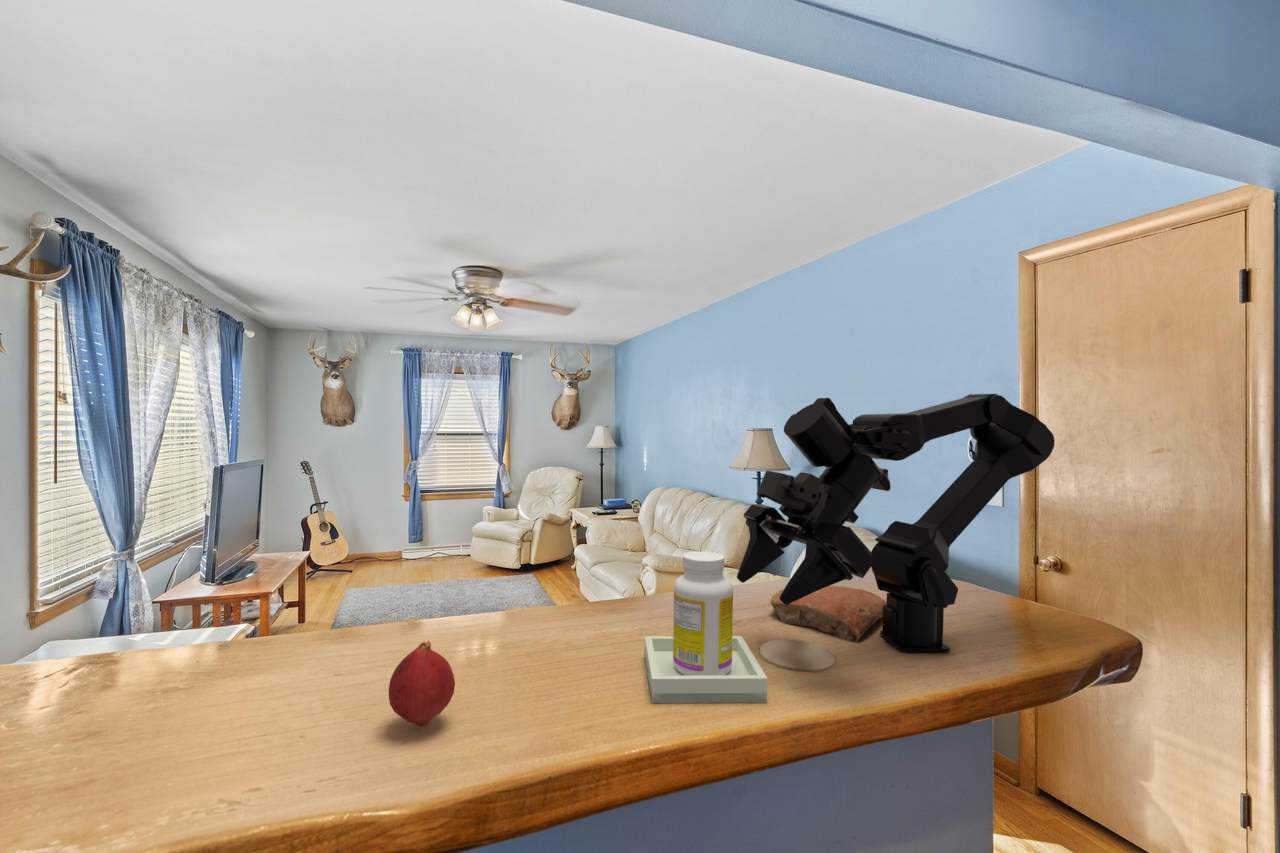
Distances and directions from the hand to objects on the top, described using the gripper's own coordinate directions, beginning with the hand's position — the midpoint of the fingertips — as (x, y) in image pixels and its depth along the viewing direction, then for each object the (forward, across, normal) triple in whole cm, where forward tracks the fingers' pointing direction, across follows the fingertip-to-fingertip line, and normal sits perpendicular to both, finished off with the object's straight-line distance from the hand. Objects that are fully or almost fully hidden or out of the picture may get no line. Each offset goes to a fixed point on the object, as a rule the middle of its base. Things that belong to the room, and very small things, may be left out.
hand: (759, 590), depth 71 cm
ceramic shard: (-7, -12, +21) cm, 25 cm away
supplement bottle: (+11, 0, 0) cm, 11 cm away
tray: (+12, 0, +1) cm, 12 cm away
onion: (+33, +1, -20) cm, 38 cm away
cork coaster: (+2, -2, +11) cm, 11 cm away
